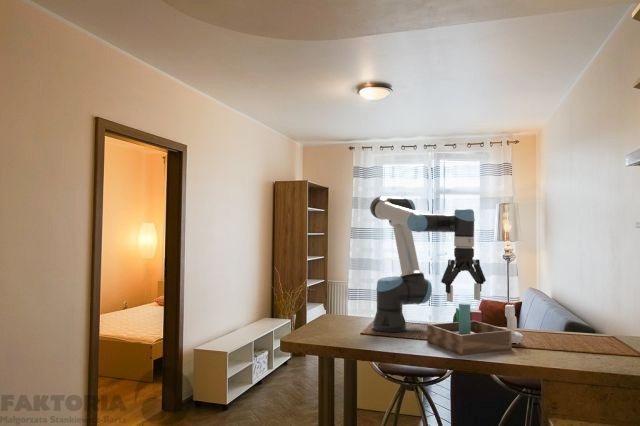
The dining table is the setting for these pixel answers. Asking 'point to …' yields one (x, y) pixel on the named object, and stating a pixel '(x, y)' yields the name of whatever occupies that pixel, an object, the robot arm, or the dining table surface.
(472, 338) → the crate
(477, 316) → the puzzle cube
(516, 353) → the dining table surface
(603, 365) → the dining table surface
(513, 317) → the figurine
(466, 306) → the teal peg
